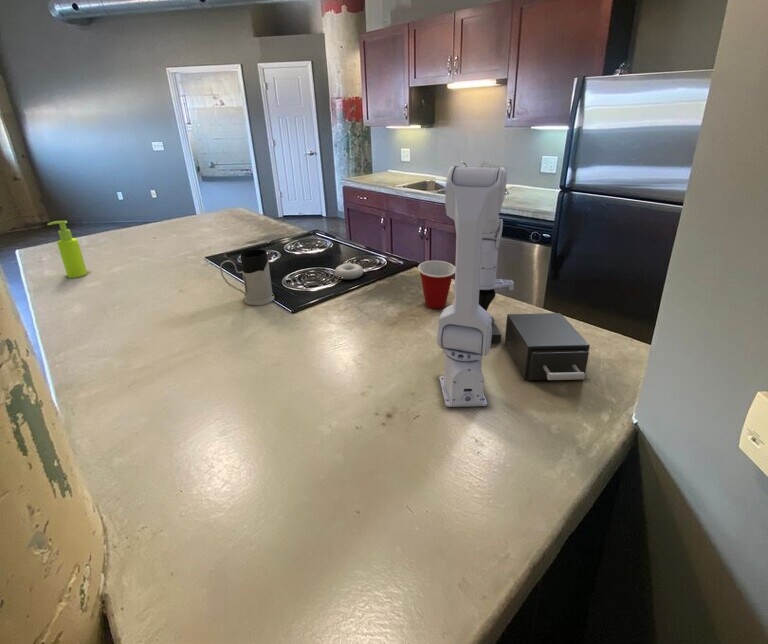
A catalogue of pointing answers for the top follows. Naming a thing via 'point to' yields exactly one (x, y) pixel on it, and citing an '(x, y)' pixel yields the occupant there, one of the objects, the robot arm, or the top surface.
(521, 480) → the top surface
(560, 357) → the drawer
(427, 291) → the plastic cup
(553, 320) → the grey drawer box
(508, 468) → the top surface
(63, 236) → the soap dispenser
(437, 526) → the top surface
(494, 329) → the control block
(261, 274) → the silver mug
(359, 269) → the donut
